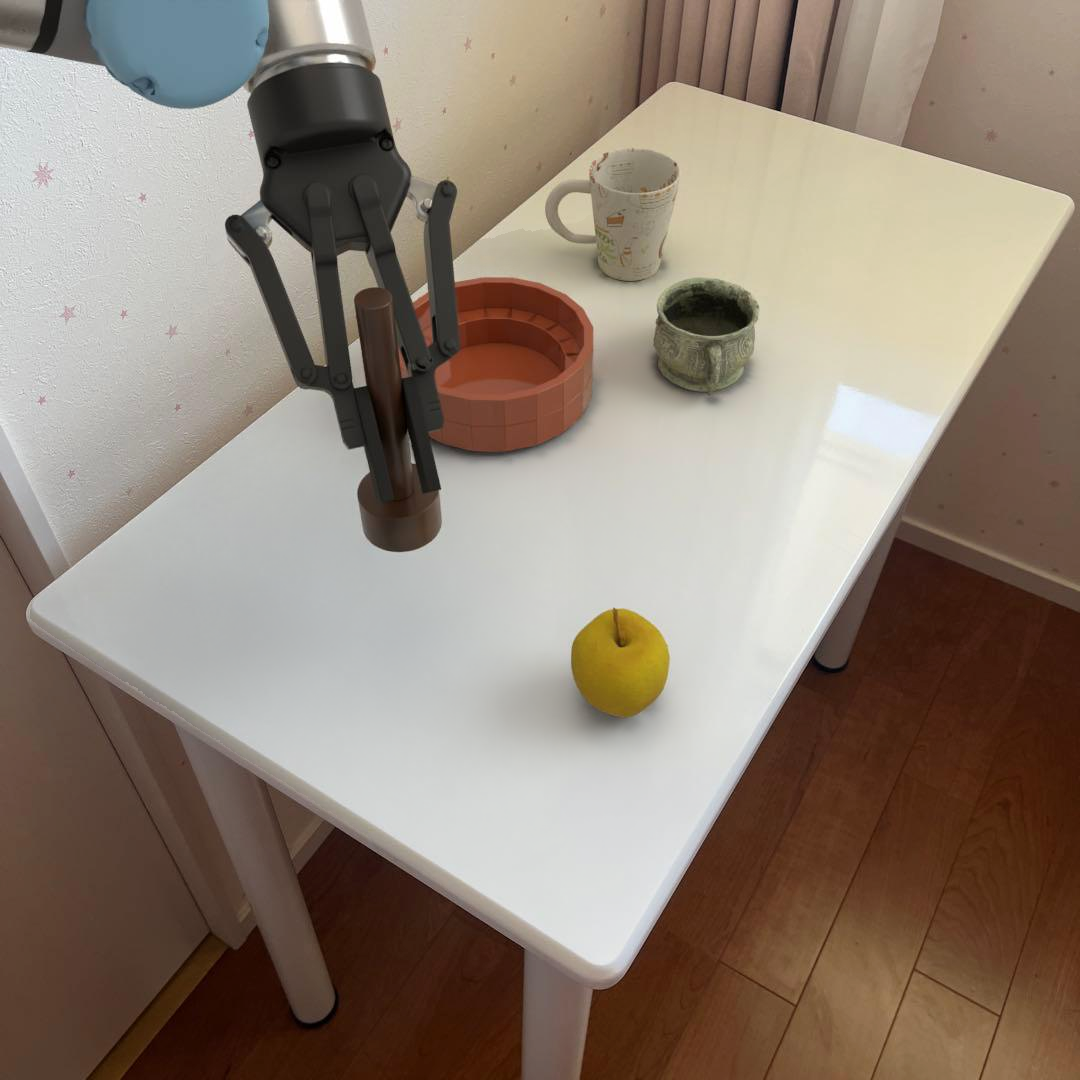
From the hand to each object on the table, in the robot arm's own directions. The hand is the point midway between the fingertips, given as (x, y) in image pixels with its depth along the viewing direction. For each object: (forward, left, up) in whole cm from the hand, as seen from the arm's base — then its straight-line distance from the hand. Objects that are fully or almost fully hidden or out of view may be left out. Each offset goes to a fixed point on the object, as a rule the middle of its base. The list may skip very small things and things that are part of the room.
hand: (408, 496), depth 63 cm
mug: (+13, +50, -17) cm, 54 cm away
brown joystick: (-1, +4, -6) cm, 7 cm away
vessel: (+21, +34, -17) cm, 43 cm away
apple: (+13, -2, -17) cm, 21 cm away
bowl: (+3, +30, -17) cm, 34 cm away
